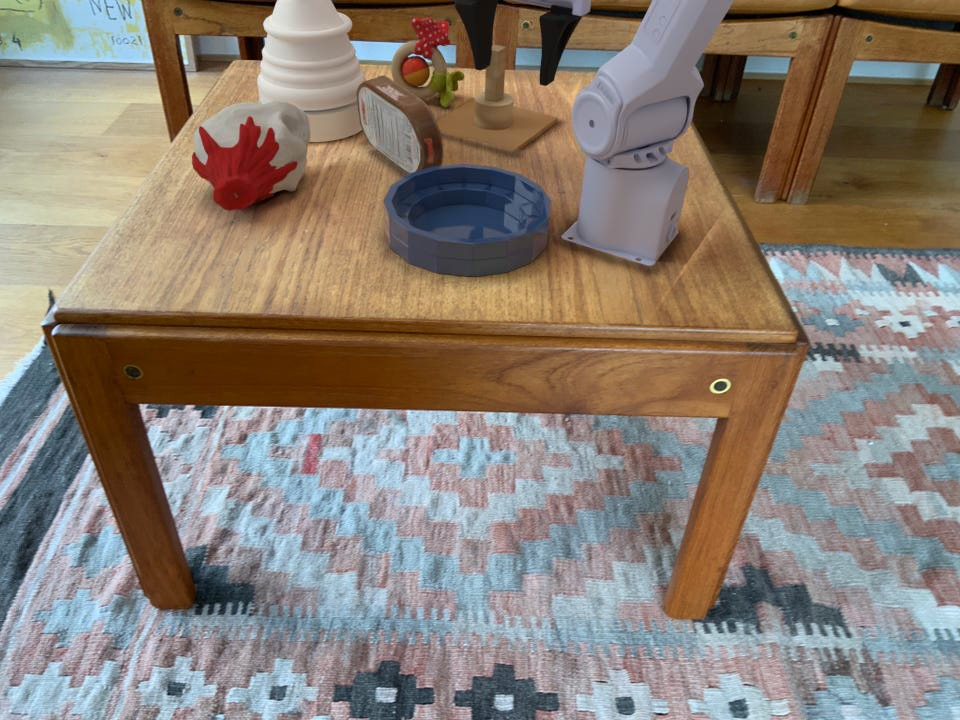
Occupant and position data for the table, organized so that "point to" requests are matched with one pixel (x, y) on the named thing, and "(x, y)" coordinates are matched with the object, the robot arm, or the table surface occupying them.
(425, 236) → the bowl
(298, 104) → the honey pot
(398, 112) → the tin
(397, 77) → the bird rattle
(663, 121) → the robot arm
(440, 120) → the mat
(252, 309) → the table surface
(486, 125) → the wooden peg on disc
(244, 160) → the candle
